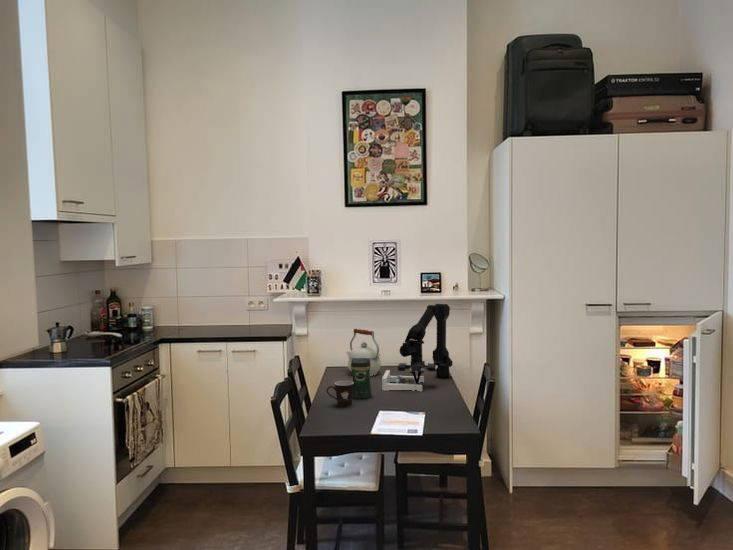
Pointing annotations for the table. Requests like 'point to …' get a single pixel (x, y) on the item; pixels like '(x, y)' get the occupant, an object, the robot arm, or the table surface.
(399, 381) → the bar
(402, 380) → the egg carton
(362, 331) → the kettle
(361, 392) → the coffee jar
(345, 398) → the coffee mug
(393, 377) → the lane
